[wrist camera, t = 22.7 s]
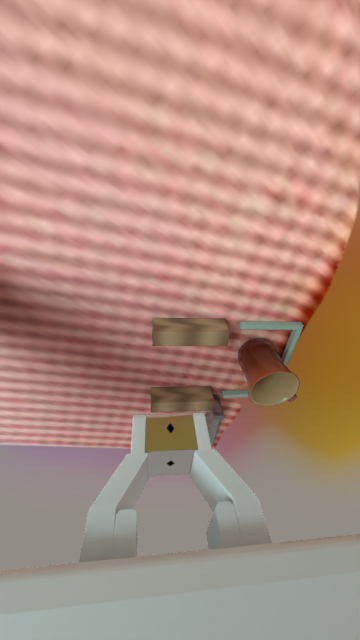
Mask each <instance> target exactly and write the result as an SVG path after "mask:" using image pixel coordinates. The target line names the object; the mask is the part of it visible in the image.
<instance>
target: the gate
mask: <svg viewBox="0 0 360 640" xmlns="http://www.w3.org/2000/svg"><path fill="white" fill-rule="evenodd" d="M213 399H214V403H213V408H212V410H208V411H207V415H206V423H207V427H208V432H209V437H210V442H211V447H213V443H214V439H215V436H216V432H217V428H218V425H219V421H220V419H223V418H224V414H223V410H222V406H221V403H220V399H219V396H213Z"/></svg>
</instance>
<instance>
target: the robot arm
mask: <svg viewBox="0 0 360 640" xmlns="http://www.w3.org/2000/svg"><path fill="white" fill-rule="evenodd" d="M181 474H190V476H191V478H192V480H193V481H194V483H195V484H196V486H197V487H198V489H199V490H200V492H201V494H202V495H203V497H204V498H205V500H206V501H207V503H208V504H209V506H210V507H211V509H212V511H213V512H214V513H213V516H212V518H211V521H210V524H209V527H208V529H207V532H206V534H207V541H208V549H207V550H198V551H188V552H178V553H168V554H159V555H148V556H138V557H137V540H138V539H137V513H136V512H135V511H134V510H133V508H134V506H135V504H136V502H137V500H138V498H139V496H140V494H141V492H142V490H143V489H144V486H145V485H146V483H147V481H148V479H149V477H151V476H162V475H181ZM0 640H360V534H356V535H346V536H337V537H326V538H317V539H306V540H296V541H286V542H277V543H272V542H271V539H270V535H269V532H268V529H267V526H266V522H265V519H264V516H263V512H262V509H261V506H260V503H259V499H258V498H257V496H256V495H255V494H254V493H253V492H252V491H251V489H250V488H249V487H248V486H247V485H246V484H245V483H244V481H243V480H242V479H241V478H240V477H239V476H238V474H237V473H236V472H235V471H234V470H233V469H232V468H231V467H230V465H229V464H228V463H227V462H226V461H225V460H224V458H223V457H222V456H221V455H220V454H219V453H218V451H217V450H216V449H212V447H211V442H210V437H209V432H208V427H207V423H206V418H205V414H204V412H195V413H191V412H187V413H169V414H134V415H133V424H132V440H131V453H130V454H127V455H126V456H125V457H124V459H123V460H122V462H121V463H120V465H119V466H118V468H117V469H116V471H115V472H114V474H113V475H112V477H111V478H110V480H109V481H108V483H107V484H106V485H105V487H104V488H103V490H102V491H101V493H100V494H99V496H98V497H97V499H96V500H95V502H94V503H93V505H92V506H91V508H90V509H89V510H88V515H87V520H86V526H85V532H84V538H83V543H82V549H81V555H80V561H79V563H69V564H59V565H50V566H39V567H30V568H19V569H9V570H0Z"/></svg>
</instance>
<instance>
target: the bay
mask: <svg viewBox="0 0 360 640" xmlns="http://www.w3.org/2000/svg"><path fill="white" fill-rule="evenodd" d="M303 326H304V325H303V324H302V323H301V322H266V321H240V323H239V327H240V329H249V330H292V332H291V335H290V337H289V340H288V342H287V345H286V347H285V350H284V352H283V355H282V357H281V359H282V361H283V363H284V365H285V366H287V364H288V361H289V359H290V356H291V354H292V352H293V349H294V347H295V345H296V343H297V340H298V338H299V336H300V333H301V331H302V328H303ZM222 397H223V398H236V397H249V395H248V390H227V391H222Z"/></svg>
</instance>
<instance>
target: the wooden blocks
mask: <svg viewBox="0 0 360 640" xmlns="http://www.w3.org/2000/svg"><path fill="white" fill-rule="evenodd" d="M229 335H230V330H229V328H228V326H227V323H226V321H225V319H202V318H153V329H152V337H153V346H227V344H228V339H229ZM213 403H214V399H213V395H212V391H211V387H210V386H204V387H157V388H151V412H177V411H207V410H212V408H213Z"/></svg>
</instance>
